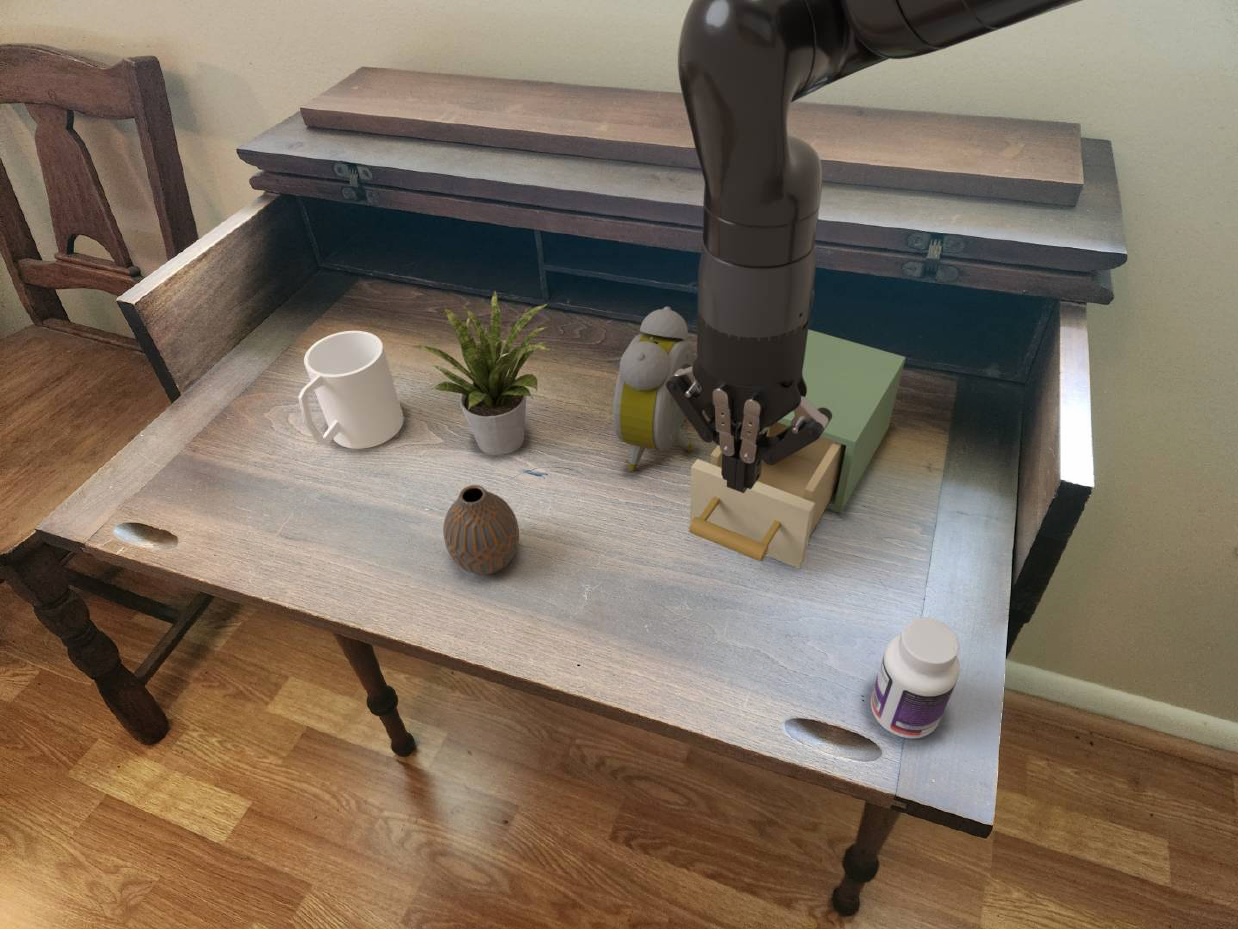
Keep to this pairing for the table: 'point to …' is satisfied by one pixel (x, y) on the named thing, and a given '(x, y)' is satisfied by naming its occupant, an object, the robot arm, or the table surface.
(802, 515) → the drawer
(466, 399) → the house plant
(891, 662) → the pill bottle
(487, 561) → the vase
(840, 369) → the cabinet
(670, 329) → the alarm clock
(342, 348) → the cup
